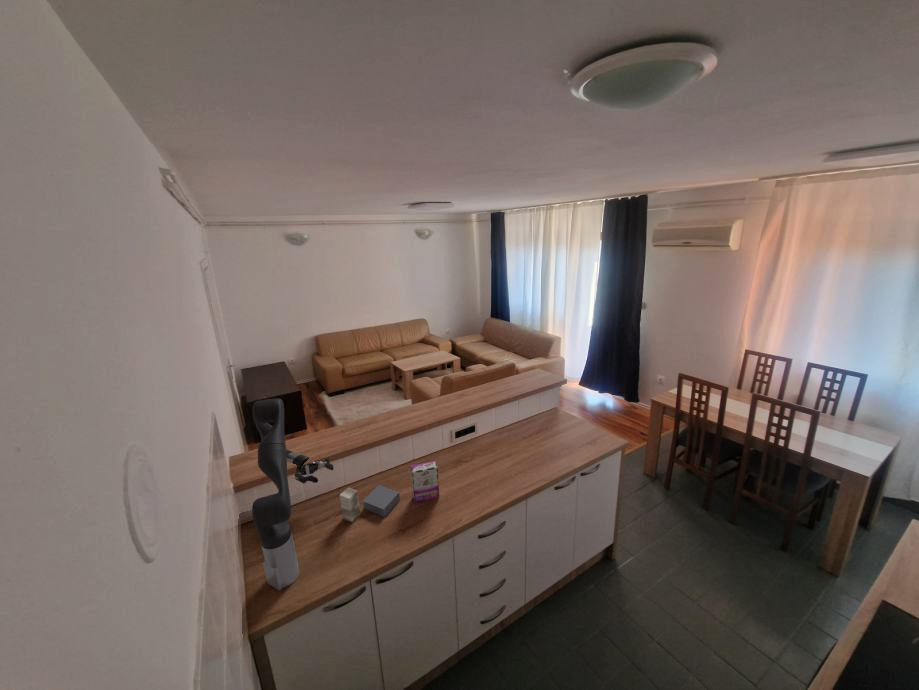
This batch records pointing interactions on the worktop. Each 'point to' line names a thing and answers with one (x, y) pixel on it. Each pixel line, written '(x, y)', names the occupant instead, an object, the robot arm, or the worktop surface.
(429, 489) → the candy bar box
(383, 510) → the charcoal plinth
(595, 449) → the worktop surface
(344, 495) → the cream block
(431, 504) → the worktop surface
